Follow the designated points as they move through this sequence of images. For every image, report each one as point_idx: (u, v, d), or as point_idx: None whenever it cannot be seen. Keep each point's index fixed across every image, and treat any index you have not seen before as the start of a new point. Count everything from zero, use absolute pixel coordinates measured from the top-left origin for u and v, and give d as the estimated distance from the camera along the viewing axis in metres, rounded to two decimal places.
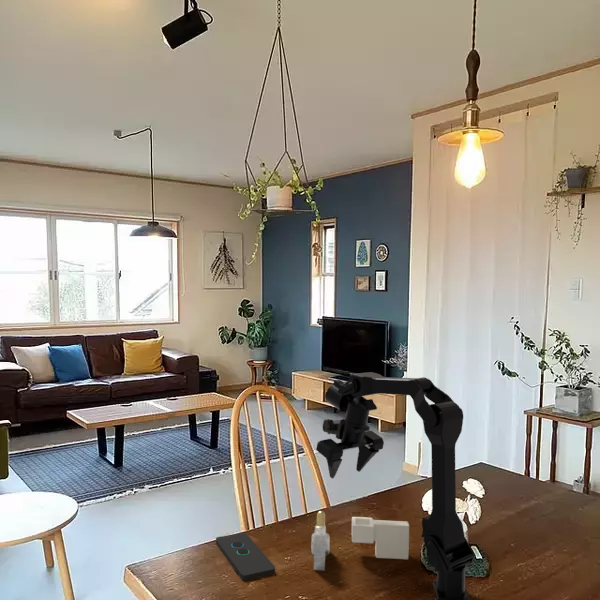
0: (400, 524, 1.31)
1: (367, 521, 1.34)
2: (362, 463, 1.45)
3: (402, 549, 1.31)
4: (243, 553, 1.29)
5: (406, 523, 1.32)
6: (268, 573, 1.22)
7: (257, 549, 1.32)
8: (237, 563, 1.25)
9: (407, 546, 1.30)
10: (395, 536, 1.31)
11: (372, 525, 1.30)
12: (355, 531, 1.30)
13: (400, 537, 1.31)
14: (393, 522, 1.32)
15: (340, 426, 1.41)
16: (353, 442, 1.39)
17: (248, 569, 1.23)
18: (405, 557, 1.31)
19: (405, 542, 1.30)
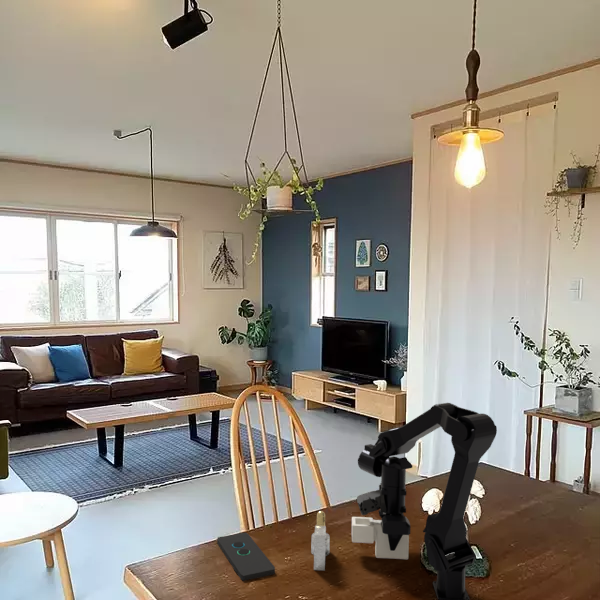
0: None
1: (367, 521, 1.34)
2: None
3: (402, 549, 1.31)
4: (243, 553, 1.29)
5: None
6: (268, 573, 1.22)
7: (258, 549, 1.32)
8: (237, 564, 1.25)
9: (407, 546, 1.30)
10: None
11: (372, 525, 1.30)
12: (355, 531, 1.30)
13: None
14: None
15: (383, 498, 1.29)
16: (403, 506, 1.30)
17: (248, 569, 1.22)
18: (405, 557, 1.31)
19: (405, 542, 1.30)
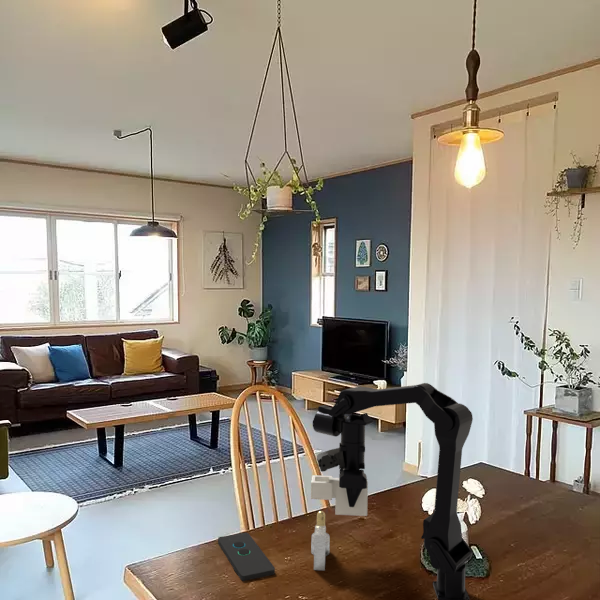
0: None
1: (327, 479, 1.34)
2: None
3: (361, 505, 1.31)
4: (244, 553, 1.29)
5: None
6: (268, 574, 1.22)
7: (258, 549, 1.32)
8: (238, 564, 1.25)
9: (366, 503, 1.31)
10: None
11: (331, 482, 1.31)
12: (314, 488, 1.30)
13: None
14: None
15: (342, 454, 1.30)
16: (362, 463, 1.30)
17: (248, 569, 1.22)
18: (364, 514, 1.31)
19: (364, 499, 1.31)
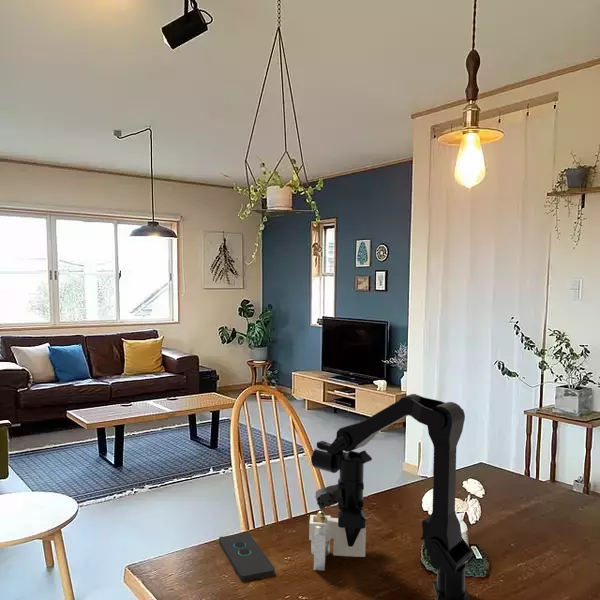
0: None
1: (325, 519, 1.35)
2: None
3: (359, 546, 1.31)
4: (244, 553, 1.29)
5: None
6: (267, 574, 1.22)
7: (259, 550, 1.31)
8: (238, 564, 1.25)
9: (364, 544, 1.31)
10: None
11: (329, 523, 1.31)
12: (312, 529, 1.31)
13: None
14: None
15: (340, 492, 1.30)
16: (361, 500, 1.30)
17: (248, 569, 1.22)
18: (362, 555, 1.31)
19: (362, 540, 1.31)
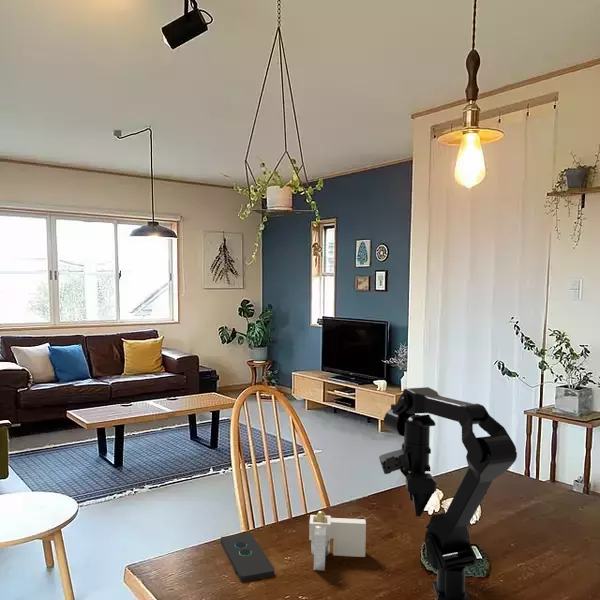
0: (357, 522, 1.32)
1: (325, 519, 1.35)
2: None
3: (359, 546, 1.31)
4: (245, 554, 1.29)
5: (363, 521, 1.32)
6: (267, 575, 1.21)
7: (259, 550, 1.31)
8: (238, 564, 1.25)
9: (364, 544, 1.31)
10: (352, 534, 1.31)
11: (329, 523, 1.31)
12: (312, 529, 1.31)
13: (357, 534, 1.31)
14: (350, 520, 1.33)
15: (406, 456, 1.26)
16: (427, 465, 1.26)
17: (248, 570, 1.22)
18: (362, 555, 1.31)
19: (362, 540, 1.31)
